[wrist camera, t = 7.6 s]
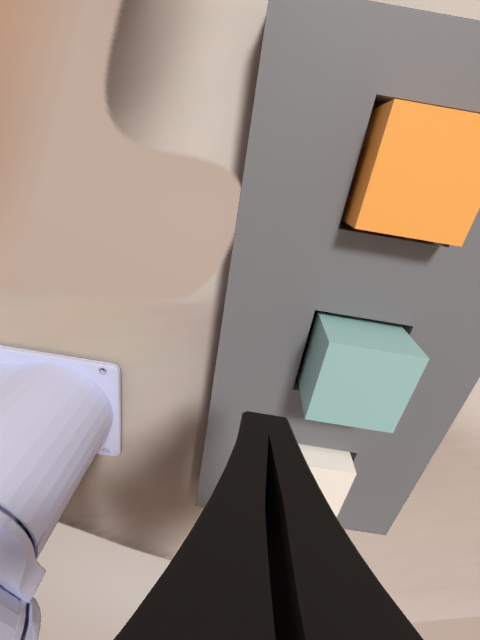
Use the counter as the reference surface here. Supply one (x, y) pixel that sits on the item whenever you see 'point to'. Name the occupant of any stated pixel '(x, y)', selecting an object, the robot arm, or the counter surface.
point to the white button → (331, 473)
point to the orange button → (417, 173)
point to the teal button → (359, 372)
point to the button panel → (343, 241)
